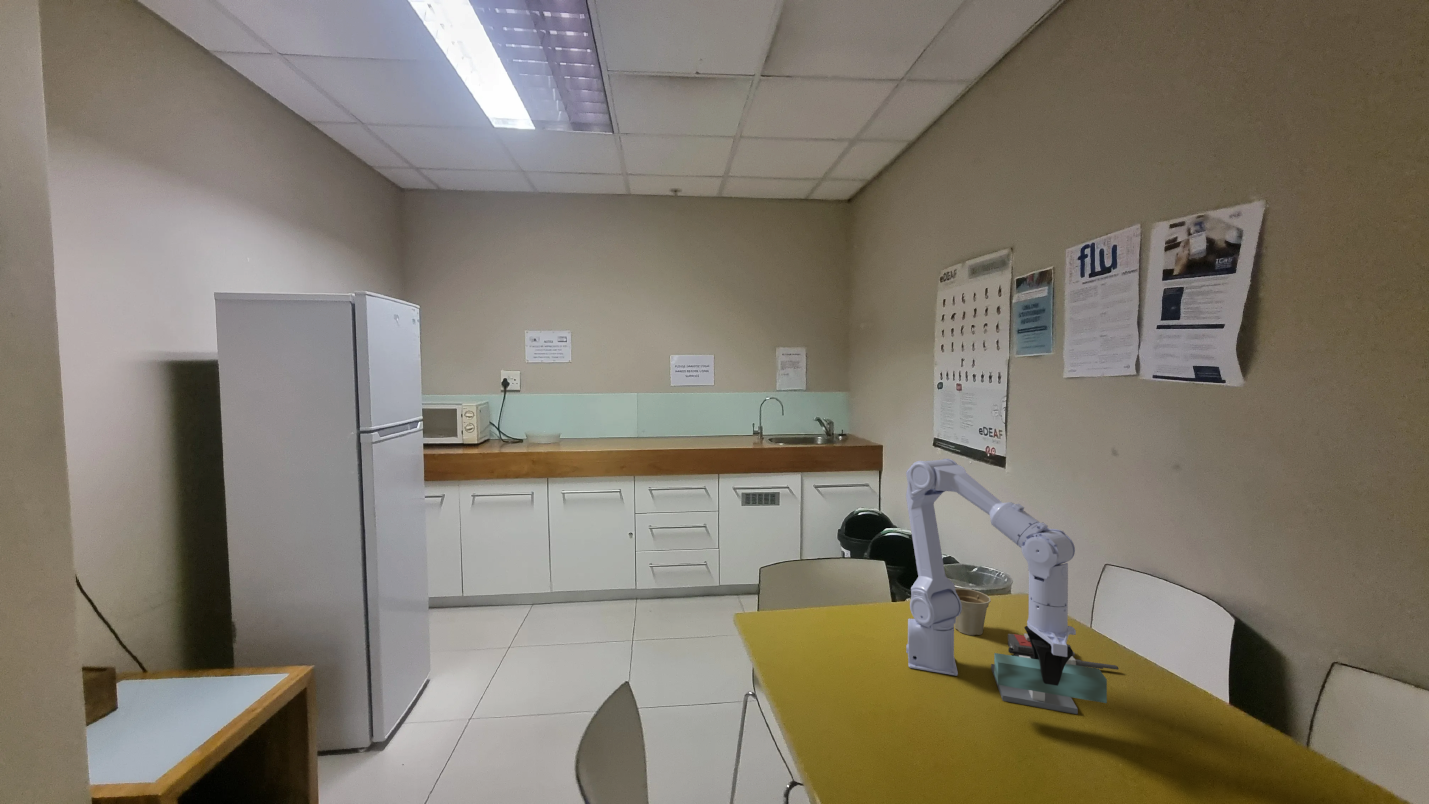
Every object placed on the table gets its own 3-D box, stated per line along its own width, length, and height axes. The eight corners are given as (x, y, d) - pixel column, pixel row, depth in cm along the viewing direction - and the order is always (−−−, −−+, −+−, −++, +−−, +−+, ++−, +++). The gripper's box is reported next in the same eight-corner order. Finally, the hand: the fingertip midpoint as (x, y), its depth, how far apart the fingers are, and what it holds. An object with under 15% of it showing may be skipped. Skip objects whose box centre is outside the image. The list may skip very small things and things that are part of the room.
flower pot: (984, 623, 127) (984, 590, 127) (996, 641, 118) (996, 604, 118) (944, 620, 129) (944, 586, 129) (952, 637, 120) (953, 601, 120)
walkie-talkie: (1011, 662, 109) (1120, 677, 103) (1011, 642, 109) (1120, 656, 103) (1001, 643, 117) (1101, 656, 112) (1001, 624, 117) (1101, 636, 112)
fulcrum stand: (1002, 700, 95) (1002, 679, 95) (991, 668, 106) (991, 649, 106) (1077, 714, 90) (1077, 692, 90) (1057, 679, 102) (1057, 659, 102)
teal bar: (998, 684, 89) (998, 662, 89) (994, 674, 92) (994, 652, 92) (1106, 703, 83) (1106, 679, 83) (1098, 691, 86) (1098, 668, 86)
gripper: (1090, 621, 79) (1089, 706, 79) (1061, 588, 93) (1061, 660, 93) (1038, 614, 82) (1037, 696, 82) (1018, 583, 95) (1017, 654, 95)
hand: (1047, 677), depth 88 cm, fingers closed on teal bar, 3 cm apart
